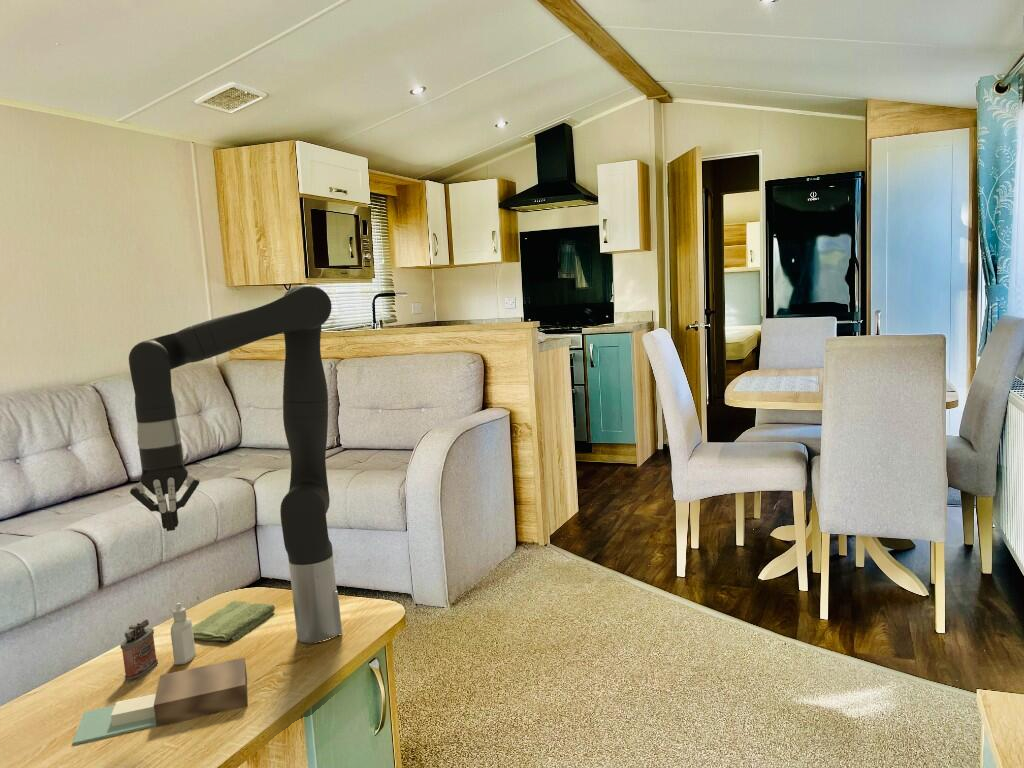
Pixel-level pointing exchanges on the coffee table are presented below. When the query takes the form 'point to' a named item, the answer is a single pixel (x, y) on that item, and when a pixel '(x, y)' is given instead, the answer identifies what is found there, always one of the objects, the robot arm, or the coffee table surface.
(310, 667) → the coffee table surface
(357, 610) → the coffee table surface
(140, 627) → the lighter
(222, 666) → the wooden block
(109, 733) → the mat
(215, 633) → the washcloth
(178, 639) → the eye dropper bottle
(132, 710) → the tile
